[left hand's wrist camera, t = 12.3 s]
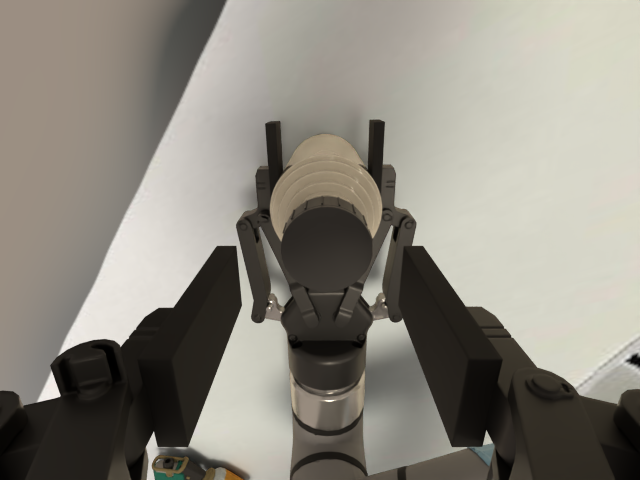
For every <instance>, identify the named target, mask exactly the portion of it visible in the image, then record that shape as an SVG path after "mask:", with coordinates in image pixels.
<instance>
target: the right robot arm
mask: <svg viewBox="0 0 640 480" xmlns="http://www.w3.org/2000/svg"><path fill="white" fill-rule="evenodd" d="M265 126H266V140H267V155H268V166H260V167H259V168H258V170H257V173H256V176H255V177H256V188H257V201H258V208H256V209H254V210H251V211H246V212H244V213H243V215H242V216H241V218H240V219H239V221H238V222H237V224H236V228H237V232H238V236H239V241H240V245H241V249H242V253H243V257H244V261H245V266H246V270H247V274H248V278H249V282H250V286H251V291H252V295H253V299H254V303H253V309H252V315H251V319H252V321H254V322H255V323H262V322H263V321H264V319H265V318H267V319H272V320H278V321H281V324H282V326H283V327H284V328H285V330H286V332H287V339H288V356H289V368H290V388H291V400H292V411H293V448H292V459H291V470H290V480H487V474H488V470H489V466H490V462H491V458H492V454H493V450H494V444H488V445H483V446H482V447H467V449H464V450H460V451H457V452H454V453H450V454H447V455H444V456H440V457H437V458H434V459H430V460H427V461H423V462H420V463H417V464H413V465H410V466H404V467H401V468H397V469H393V470H389V471H385V472H381V473H378V474H374V475H370V476H368V474H367V471H366V462H365V454H364V445H363V407H364V394H365V365H366V342H367V331H368V329H369V328H370V326H371V325H372V323H373V321H374V320H379V319H384V318H390V320H391V321H392V322H400V321H401V320H402V318H403V317H402V314H401V312H400V309H399V306H398V301H399V291H400V280H401V270H402V259H403V248H404V246H412V243H413V238H414V234H415V229H416V221H415V219H414V218H413V217H412V215H411V214H410V213H409V211H407V210H406V209H400V208H397V207H395V206H394V195H395V180H396V173H395V170H394V168H393V167H392V166H391V165H383V147H384V127H385V122H384V121H381V120H370V123H369V151H368V172H369V173H370V175H371V177H372V178H373V180H374V181H375V183H376V185H377V187H378V189H379V192H380V196H381V201H382V216H381V221H380V225H379V227H378V230H377V232H376V234H375V236H374V238H373V241H372V243H373V255H372V260H371V263H370V265H369V267H368V269H367V271H366V272H365V274H364V275H363V276H362V277H361V278H360V279H359V280H358V281H357V282H355V283H354V284H352V285H350V286H349V287H346V288H344V289H341V290H337V291H329V292H324V291H316V290H312V289H309V288H307V287H305V286H303V285H301V284H300V283H298V282H297V281H296V280H294V279H293V278H292V277H291V275H290V274H289V273H288V272H287V270H286V268H285V266H284V264H283V261H282V258H281V249H280V247H281V241H280V239H279V237H278V236H277V234H276V232H275V230H274V227H273V225H272V221H271V216H270V202H271V196H272V193H273V190H274V188H275V186H276V183H277V182H278V180H279V178H280V176H281V175H282V173H283V164H282V146H281V128H280V121H271V122H268V123H266V124H265ZM391 225H393V231H392V236H391V241H390V246H389V252H388V257H387V262H386V267H385V272H384V277H383V283H382V290H383V293H379V294H378V296H377V297H376V302H375V304H374V305H372V306H369V305H368V303H367V302H366V301H365V300H364V298H363V297H362V296H361V293H362V291H363V287H364V283H365V280H366V278H367V276H368V274H369V272H370V270H371V267H372V265H373V263H374V261H375V259H376V257H377V255H378V252H379V250H380V248H381V246H382V244H383V242H384V239H385V237H386V235H387V233H388V231H389V229H390V226H391ZM260 226H261V228H262V230H263V232H264V234H265V236H266V238H267V240H268V242H269V244H270V246H271V248H272V250H273V252H274V254H275V256H276V258H277V261H278V263H279V265H280V267H281V269H282V271H283V273H284V275H285V277H286V279H287V281H288V283H289V287H290V291H291V293H292V295H293V296H292V297H291V298H290V299H289V301H288V302H287V303H286V305H285V306H284V307H282V306H280V305H279V304H278V300H277V297H276V296H275V295H274V294H273V293H271V283H270V278H269V273H268V268H267V264H266V259H265V254H264V250H263V245H262V241H261V236H260V231H259V227H260ZM270 293H271V294H270ZM492 480H494V478H492Z"/></svg>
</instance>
